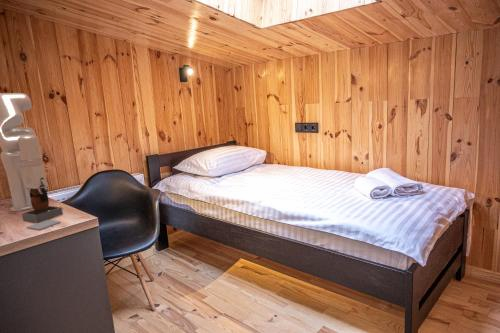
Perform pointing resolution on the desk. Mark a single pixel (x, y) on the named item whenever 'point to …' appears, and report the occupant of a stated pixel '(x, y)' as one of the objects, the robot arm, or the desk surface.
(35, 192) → the wooden figurine
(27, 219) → the dock
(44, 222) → the mat
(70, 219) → the desk surface
